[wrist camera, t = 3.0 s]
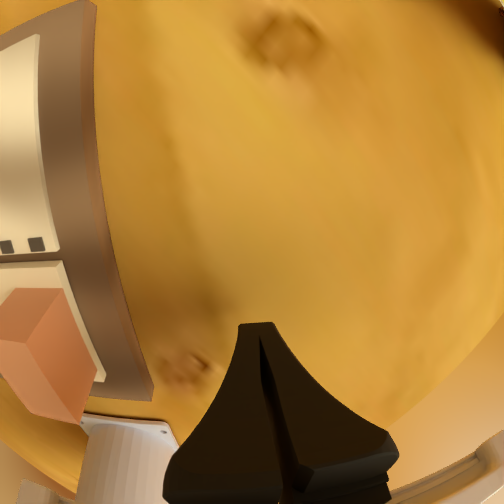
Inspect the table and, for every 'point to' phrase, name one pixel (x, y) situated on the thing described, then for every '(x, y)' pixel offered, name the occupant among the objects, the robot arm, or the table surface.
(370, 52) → the table surface
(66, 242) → the board
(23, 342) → the stub
